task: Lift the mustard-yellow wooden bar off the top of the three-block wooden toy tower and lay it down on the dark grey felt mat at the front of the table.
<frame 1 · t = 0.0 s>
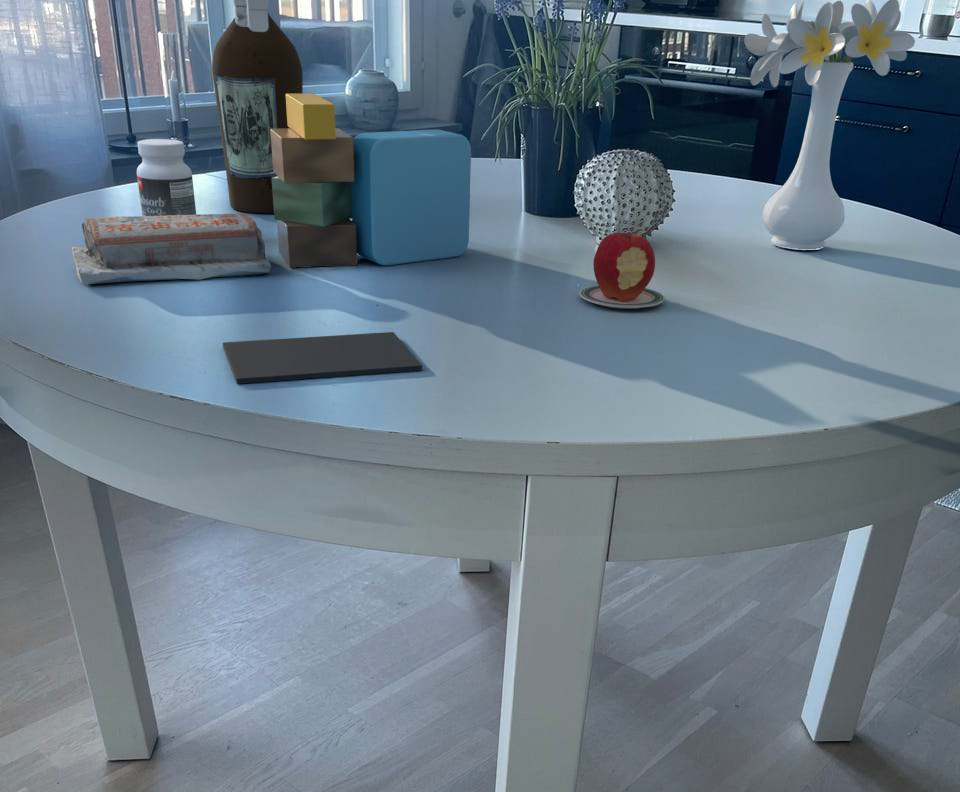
hand: (251, 29, 101), 20 cm above the table, tool pointing down, fingers open, 8 cm apart
flower vase: (790, 247, 120), on the table
packaged product: (172, 271, 101), on the table
apple: (621, 303, 97), on the table
tower: (317, 258, 107), on the table
pill bottle: (173, 243, 112), on the table
bar: (310, 132, 100), point 12 cm above the table, touching tower
olive oil: (267, 208, 130), on the table
mat: (320, 358, 79), on the table
data package: (411, 259, 109), on the table
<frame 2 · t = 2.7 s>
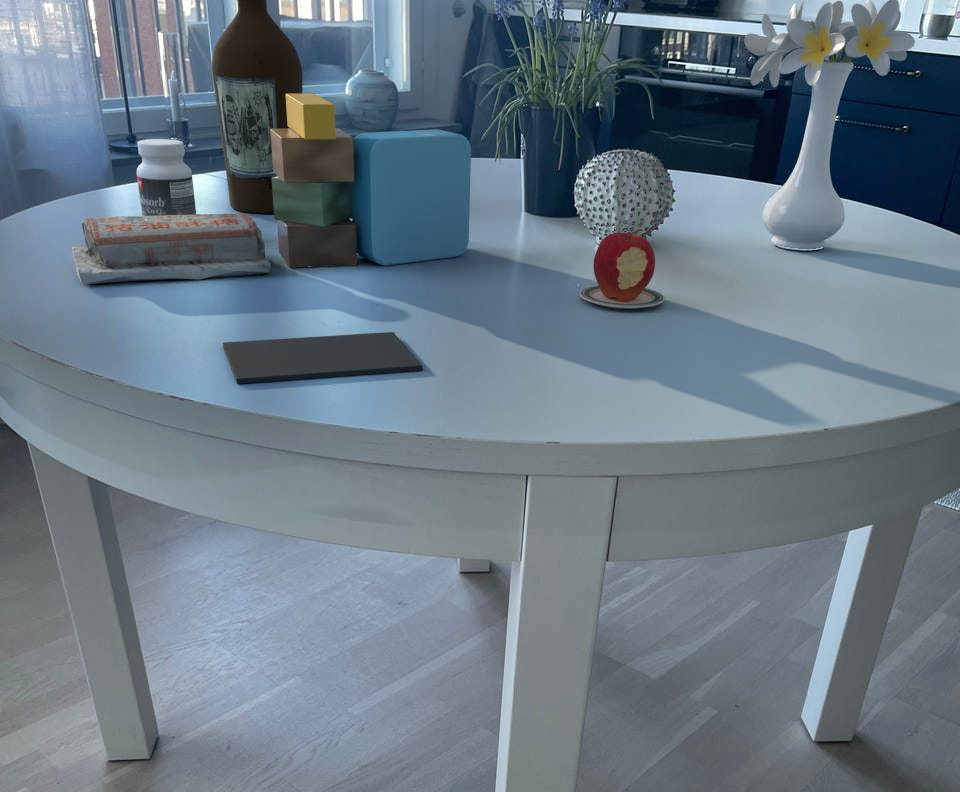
nothing on the table moved.
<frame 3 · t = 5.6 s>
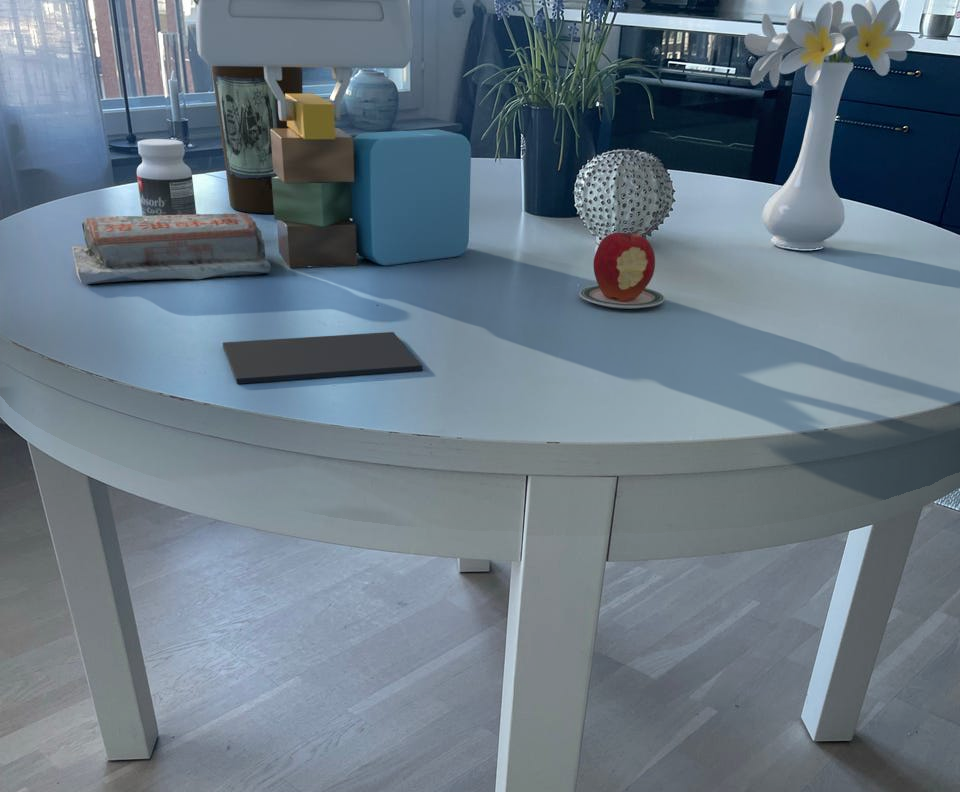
hand: (310, 120, 100), 13 cm above the table, tool pointing down, fingers closed on bar, 3 cm apart
bar: (310, 132, 100), point 12 cm above the table, touching gripper, tower
everything else where it was.
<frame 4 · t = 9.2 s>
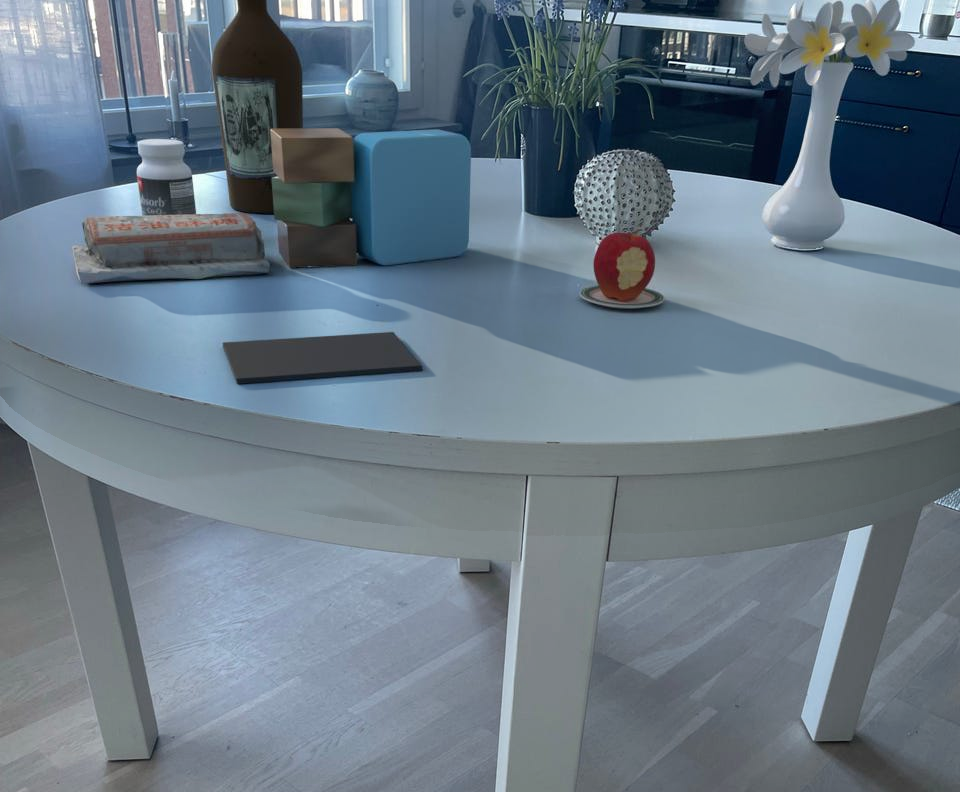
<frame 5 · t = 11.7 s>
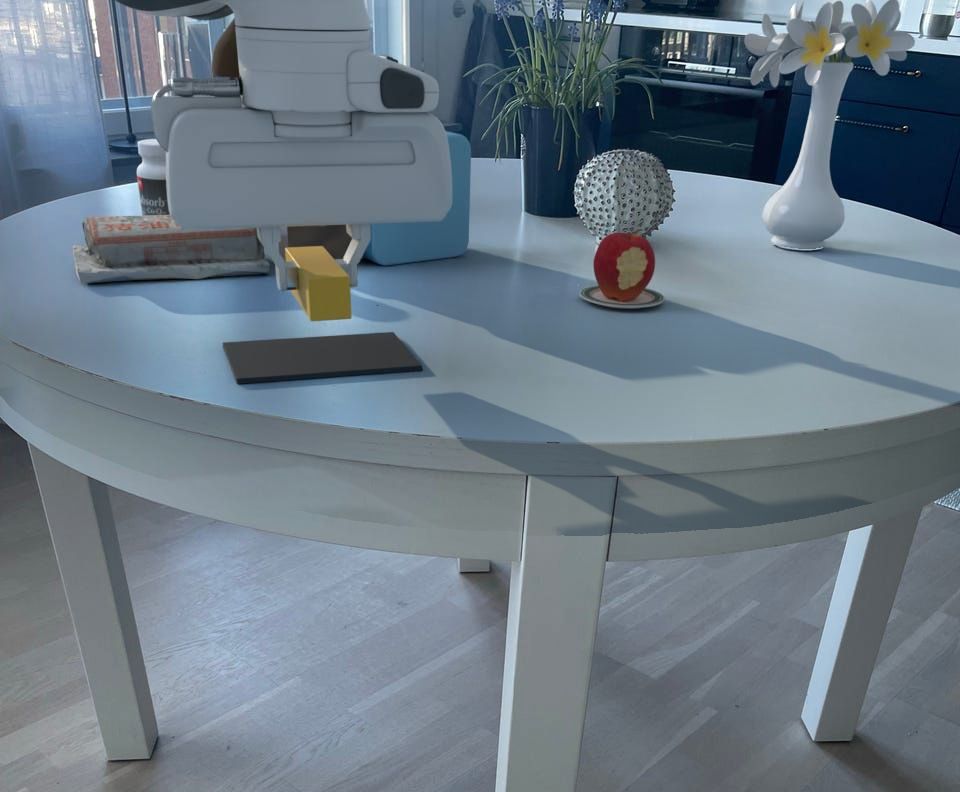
hand: (317, 287, 76), 5 cm above the table, tool pointing down, fingers closed on bar, 3 cm apart
bar: (318, 302, 77), point 4 cm above the table, touching gripper
everything else where it was.
when the fingers open (1 cm above the table, at t = 13.1 s): bar stays where it is, resting on mat.
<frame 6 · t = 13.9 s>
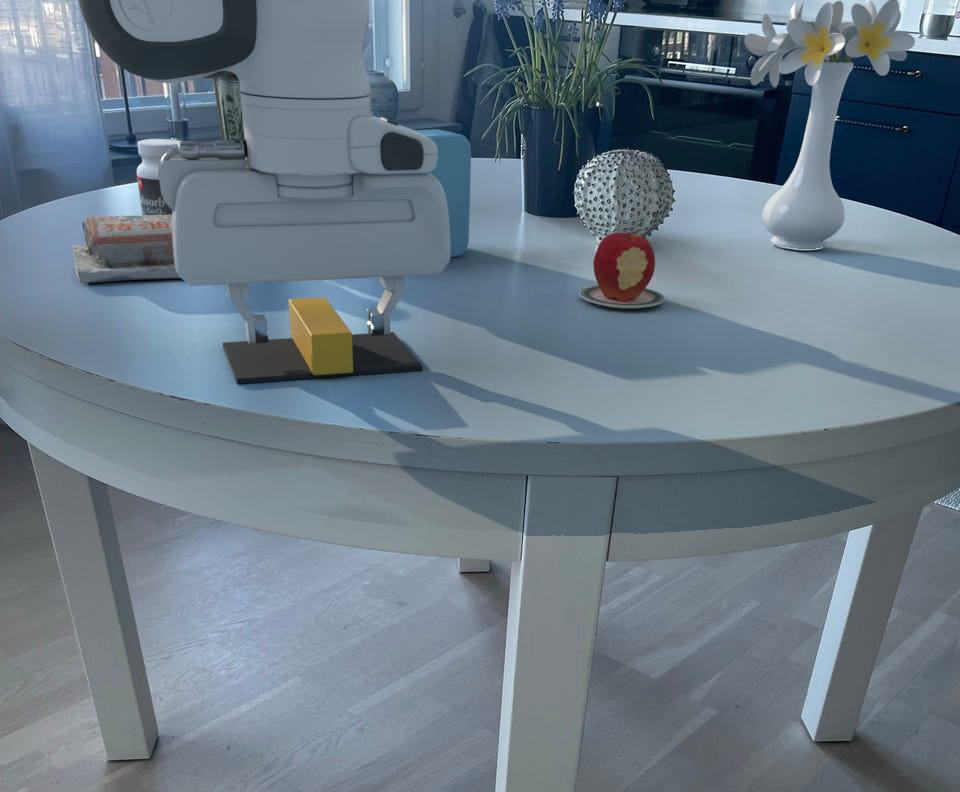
hand: (319, 337, 78), 2 cm above the table, tool pointing down, fingers open, 8 cm apart
bar: (320, 353, 79), resting on mat
everything else where it was.
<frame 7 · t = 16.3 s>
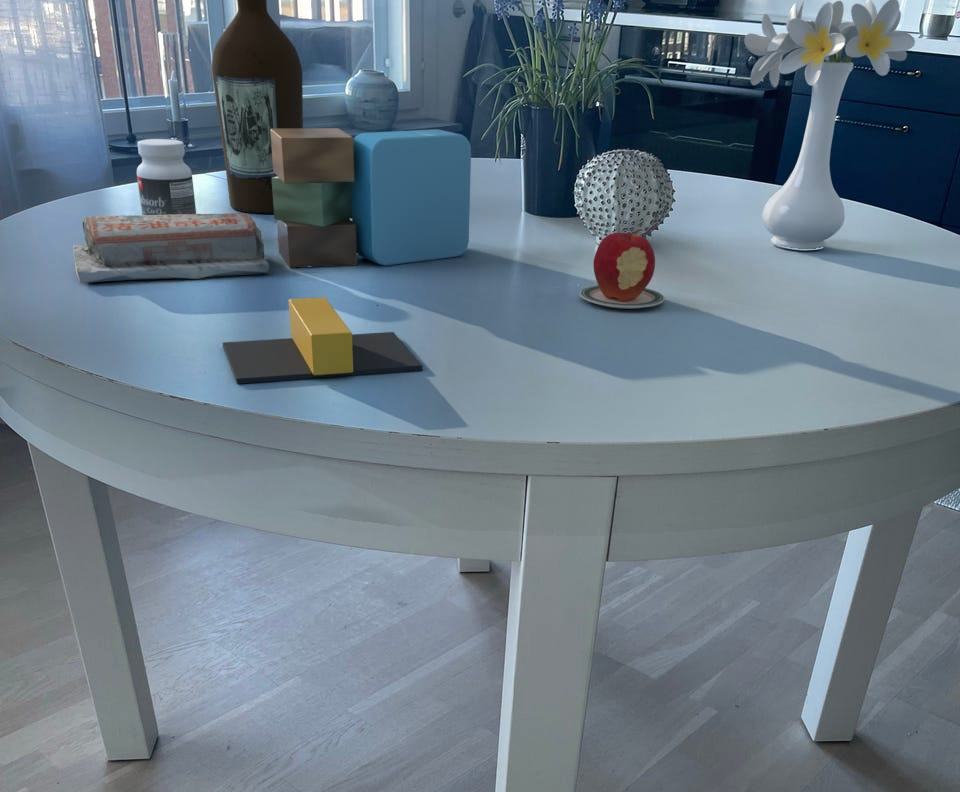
nothing on the table moved.
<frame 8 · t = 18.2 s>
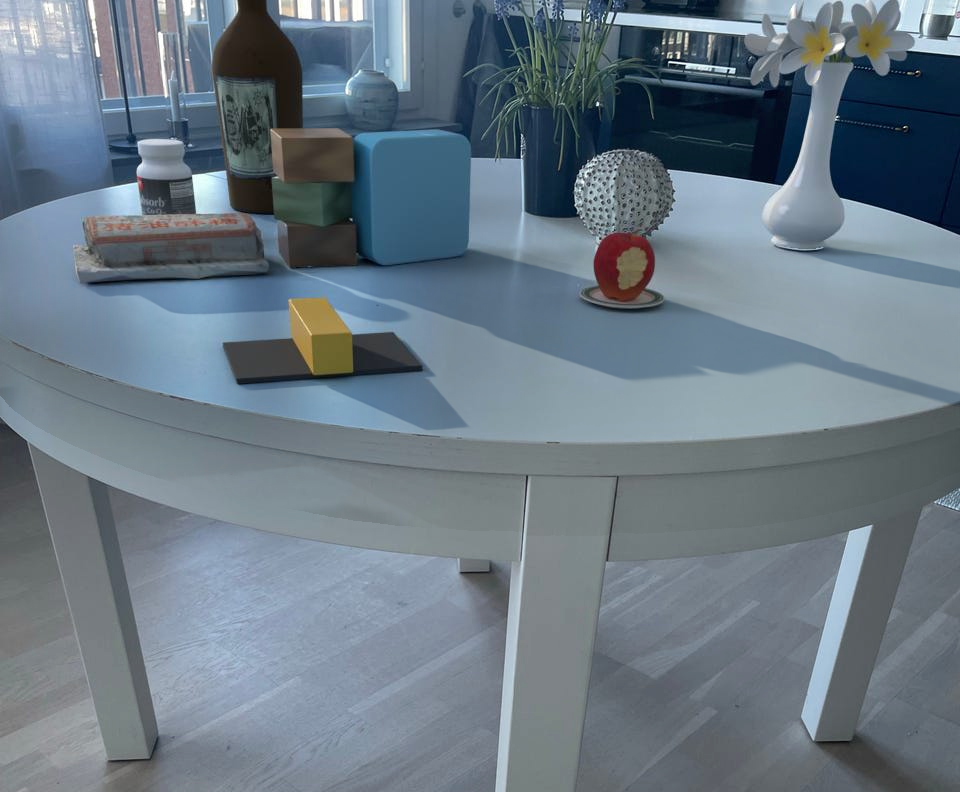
nothing on the table moved.
at the end: bar inside the target area on the mat (0.1 cm from its centre), point 0.4 cm above the mat's base; bar touching mat; bar tilted 0° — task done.
